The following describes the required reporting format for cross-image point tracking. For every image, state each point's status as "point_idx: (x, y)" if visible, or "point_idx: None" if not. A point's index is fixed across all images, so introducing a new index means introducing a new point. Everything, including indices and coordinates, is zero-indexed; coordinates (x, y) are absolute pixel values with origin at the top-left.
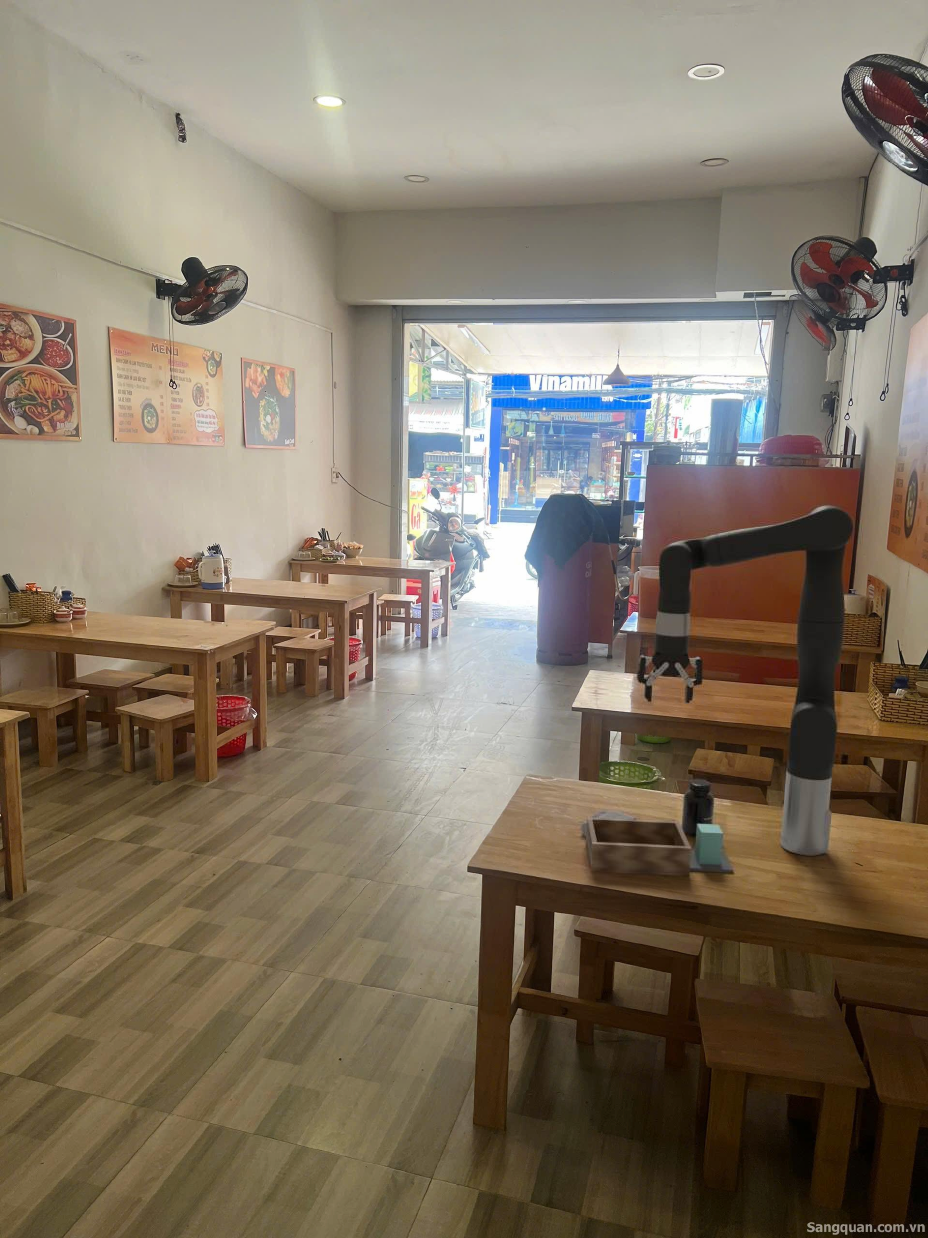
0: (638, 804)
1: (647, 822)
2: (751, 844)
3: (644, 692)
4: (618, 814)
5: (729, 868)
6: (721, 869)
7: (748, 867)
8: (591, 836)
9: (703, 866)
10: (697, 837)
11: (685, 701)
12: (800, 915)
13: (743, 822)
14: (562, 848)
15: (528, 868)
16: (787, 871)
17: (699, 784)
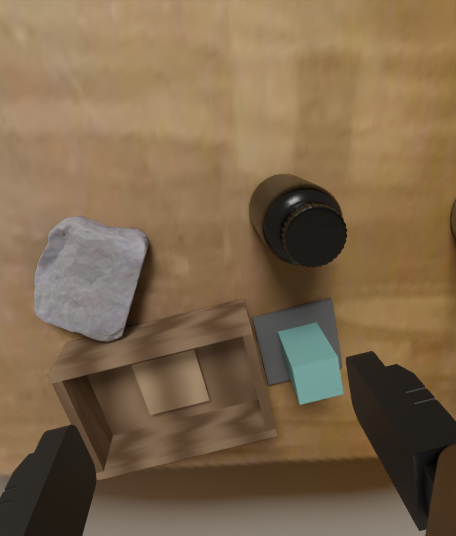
0: (125, 63)
1: (182, 350)
2: (391, 230)
3: (1, 496)
4: (101, 251)
5: None
6: None
7: (369, 334)
8: None
9: None
10: (288, 364)
11: (351, 385)
12: None
13: (394, 102)
14: (31, 377)
15: (6, 462)
16: (433, 325)
17: (312, 257)
